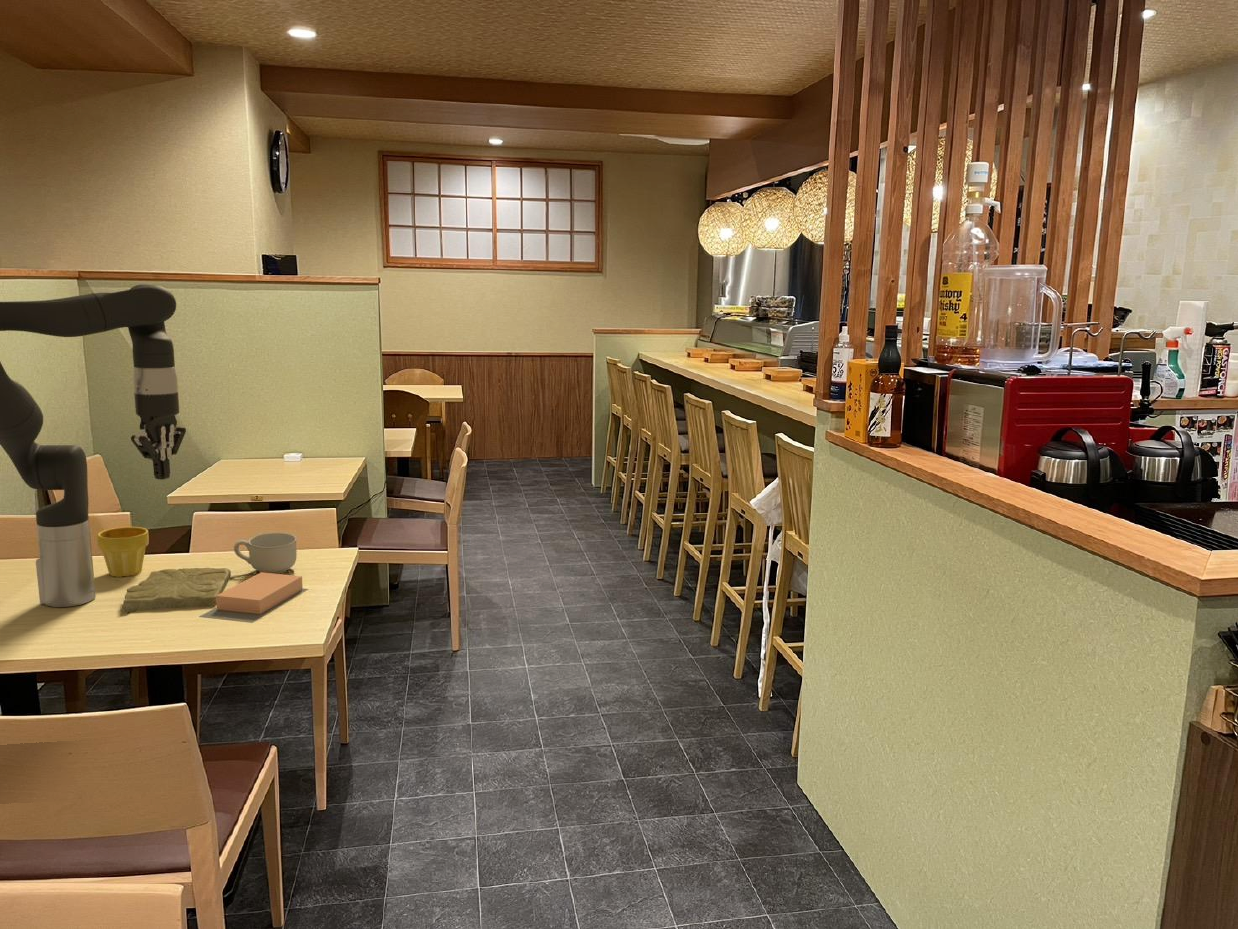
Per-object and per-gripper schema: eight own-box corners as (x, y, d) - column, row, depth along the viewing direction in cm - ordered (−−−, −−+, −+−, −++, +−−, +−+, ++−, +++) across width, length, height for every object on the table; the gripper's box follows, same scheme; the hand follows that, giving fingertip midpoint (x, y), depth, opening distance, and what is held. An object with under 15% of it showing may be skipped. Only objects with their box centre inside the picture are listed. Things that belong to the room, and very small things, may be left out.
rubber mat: (199, 618, 180) (199, 616, 180) (260, 585, 200) (259, 584, 200) (252, 624, 178) (252, 622, 178) (308, 590, 198) (308, 589, 198)
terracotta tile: (215, 595, 183) (261, 572, 199) (216, 609, 184) (261, 585, 199) (259, 600, 182) (302, 576, 197) (260, 614, 182) (302, 589, 198)
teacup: (304, 564, 216) (303, 533, 215) (287, 579, 206) (286, 545, 204) (248, 562, 217) (246, 531, 215) (227, 577, 206) (225, 543, 204)
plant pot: (161, 568, 210) (158, 528, 209) (127, 581, 201) (124, 540, 199) (124, 563, 213) (121, 524, 211) (89, 577, 203) (86, 535, 201)
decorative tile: (232, 579, 206) (231, 564, 205) (217, 609, 187) (216, 593, 186) (142, 584, 201) (141, 569, 200) (118, 615, 182) (117, 599, 181)
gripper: (149, 395, 164) (155, 487, 167) (196, 387, 176) (201, 473, 180) (113, 393, 165) (120, 484, 169) (162, 386, 178) (168, 470, 181)
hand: (162, 478), depth 174 cm, fingers closed
